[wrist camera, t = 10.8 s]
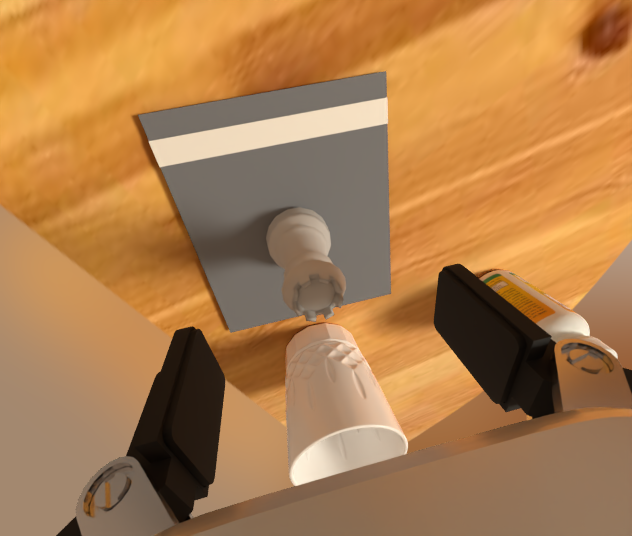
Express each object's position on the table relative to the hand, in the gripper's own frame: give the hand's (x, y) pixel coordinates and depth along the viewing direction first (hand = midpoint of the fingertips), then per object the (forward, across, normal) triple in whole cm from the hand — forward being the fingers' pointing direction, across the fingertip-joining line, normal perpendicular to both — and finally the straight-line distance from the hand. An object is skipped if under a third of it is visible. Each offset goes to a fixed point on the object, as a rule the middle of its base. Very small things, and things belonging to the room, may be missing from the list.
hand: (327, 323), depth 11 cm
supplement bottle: (+11, -17, +11) cm, 23 cm away
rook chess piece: (+10, 0, +1) cm, 10 cm away
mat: (+11, 0, 0) cm, 11 cm away
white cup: (+10, 0, +13) cm, 17 cm away
